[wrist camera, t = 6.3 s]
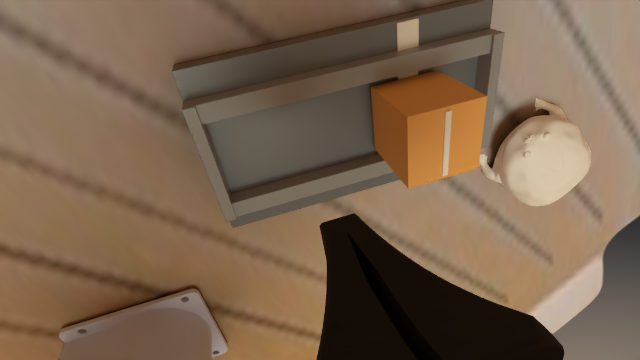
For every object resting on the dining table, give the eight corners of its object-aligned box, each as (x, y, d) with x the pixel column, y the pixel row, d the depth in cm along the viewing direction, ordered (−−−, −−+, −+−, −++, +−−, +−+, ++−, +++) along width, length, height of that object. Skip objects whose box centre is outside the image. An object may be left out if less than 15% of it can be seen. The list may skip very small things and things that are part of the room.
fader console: (231, 216, 24) (233, 240, 22) (173, 65, 18) (169, 79, 16) (465, 149, 26) (486, 166, 24) (479, -4, 20) (508, 1, 18)
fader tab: (375, 149, 22) (409, 189, 18) (370, 86, 20) (408, 117, 16) (434, 133, 22) (479, 168, 19) (437, 70, 20) (488, 96, 16)
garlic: (463, 154, 26) (497, 181, 23) (537, 82, 25) (584, 101, 22) (510, 201, 31) (544, 230, 27) (576, 142, 29) (621, 165, 26)
